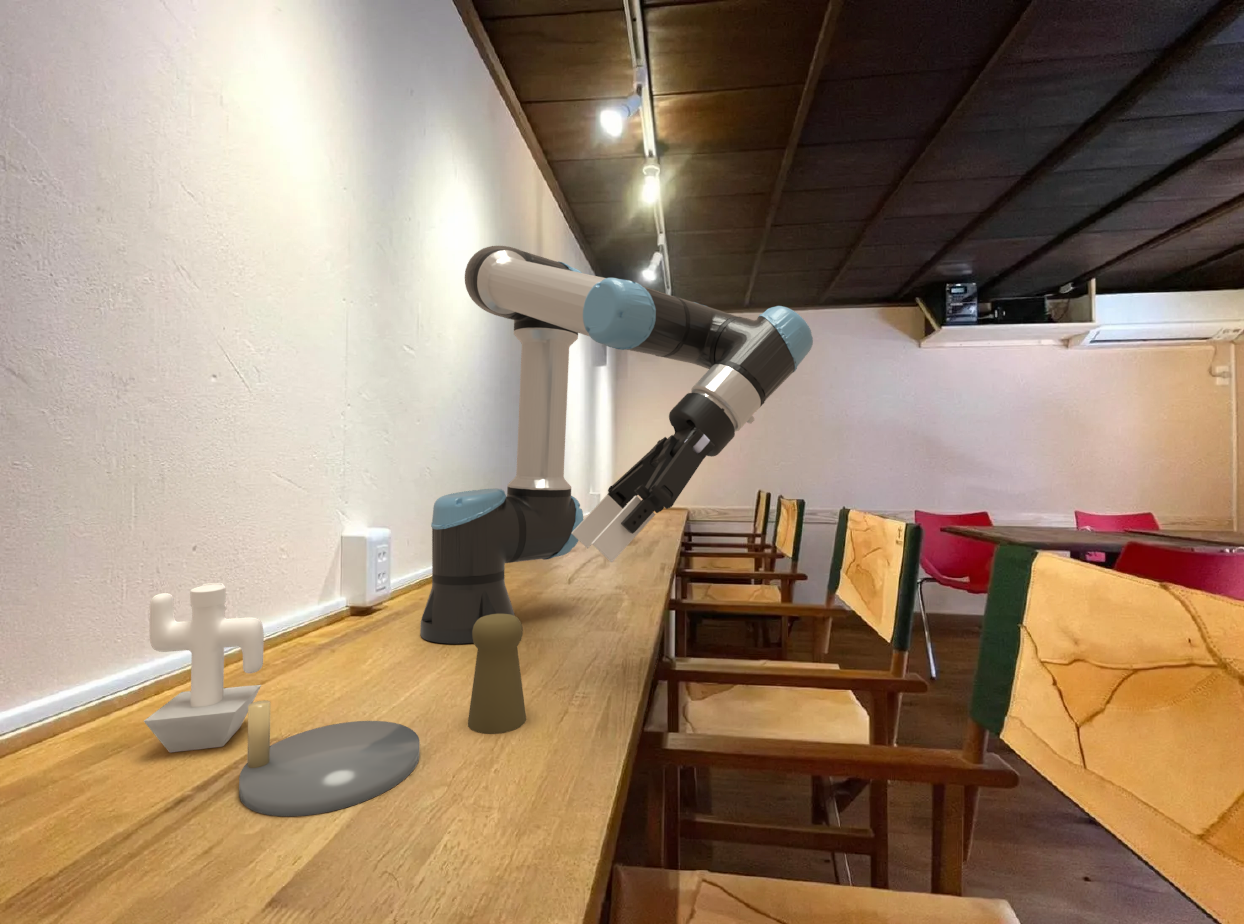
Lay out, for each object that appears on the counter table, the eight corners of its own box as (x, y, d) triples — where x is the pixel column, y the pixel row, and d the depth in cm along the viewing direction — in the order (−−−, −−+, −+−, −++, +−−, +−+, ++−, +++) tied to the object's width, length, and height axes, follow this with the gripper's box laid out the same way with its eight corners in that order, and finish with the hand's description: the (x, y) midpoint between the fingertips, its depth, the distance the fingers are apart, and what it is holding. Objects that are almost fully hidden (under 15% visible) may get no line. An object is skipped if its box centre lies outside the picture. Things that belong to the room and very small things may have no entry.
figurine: (248, 749, 53) (250, 589, 54) (128, 763, 51) (131, 595, 51) (272, 718, 60) (274, 576, 61) (168, 729, 58) (171, 581, 58)
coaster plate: (312, 729, 58) (313, 668, 58) (444, 736, 56) (445, 672, 56) (194, 810, 44) (195, 728, 44) (366, 822, 42) (366, 737, 42)
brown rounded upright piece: (513, 736, 56) (513, 624, 56) (456, 731, 57) (457, 621, 58) (534, 711, 62) (534, 610, 62) (483, 707, 63) (483, 607, 63)
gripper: (788, 423, 55) (643, 587, 51) (696, 443, 80) (592, 556, 75) (736, 367, 54) (584, 531, 50) (659, 405, 79) (552, 517, 74)
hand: (588, 546), depth 63 cm, fingers open, 13 cm apart
